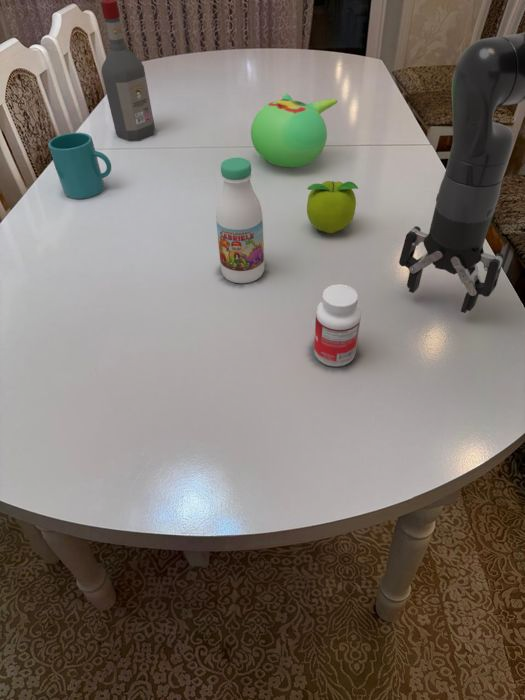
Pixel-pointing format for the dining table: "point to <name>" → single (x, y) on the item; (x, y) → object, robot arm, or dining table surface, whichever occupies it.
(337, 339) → the pill bottle
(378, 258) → the dining table surface
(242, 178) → the milk bottle
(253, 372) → the dining table surface
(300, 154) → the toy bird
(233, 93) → the dining table surface
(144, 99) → the liquor
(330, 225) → the fruit
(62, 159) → the cup
